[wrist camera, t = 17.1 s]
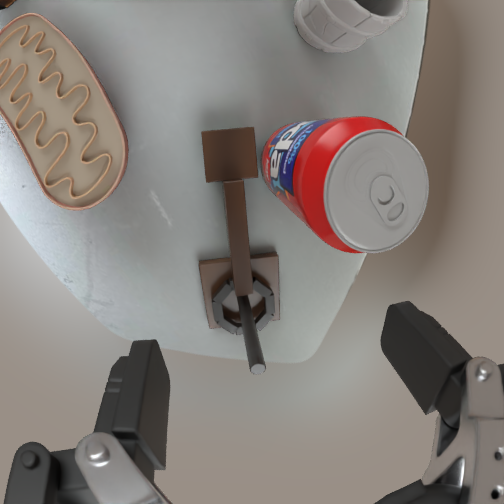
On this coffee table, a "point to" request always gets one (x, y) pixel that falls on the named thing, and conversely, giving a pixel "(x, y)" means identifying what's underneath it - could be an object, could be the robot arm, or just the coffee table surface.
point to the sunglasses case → (6, 3)
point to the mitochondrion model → (59, 114)
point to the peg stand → (242, 299)
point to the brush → (235, 217)
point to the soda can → (348, 181)
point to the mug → (345, 21)
